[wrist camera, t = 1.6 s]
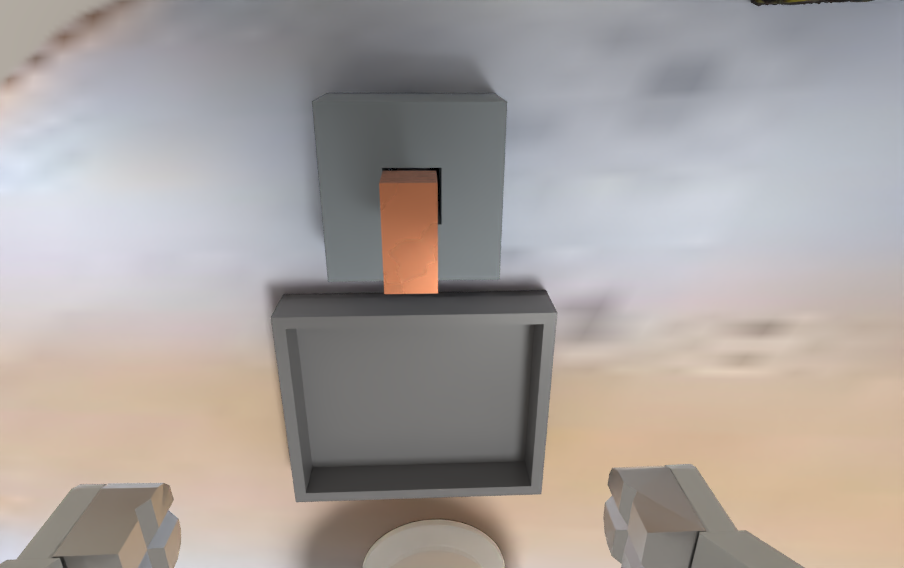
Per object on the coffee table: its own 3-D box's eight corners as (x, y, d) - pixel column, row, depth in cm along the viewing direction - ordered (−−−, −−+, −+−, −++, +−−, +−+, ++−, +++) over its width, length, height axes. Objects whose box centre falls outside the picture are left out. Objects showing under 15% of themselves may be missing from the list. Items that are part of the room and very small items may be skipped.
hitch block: (495, 93, 34) (506, 101, 29) (490, 250, 38) (499, 279, 33) (327, 93, 33) (311, 101, 29) (339, 252, 37) (328, 281, 33)
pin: (432, 136, 35) (437, 182, 23) (433, 214, 37) (438, 293, 25) (393, 136, 35) (379, 183, 23) (395, 215, 37) (384, 294, 25)
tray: (546, 290, 39) (557, 312, 36) (532, 461, 45) (541, 494, 42) (283, 294, 38) (270, 317, 35) (305, 468, 44) (295, 502, 41)
